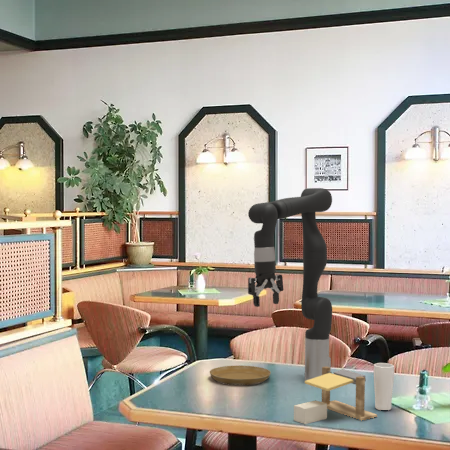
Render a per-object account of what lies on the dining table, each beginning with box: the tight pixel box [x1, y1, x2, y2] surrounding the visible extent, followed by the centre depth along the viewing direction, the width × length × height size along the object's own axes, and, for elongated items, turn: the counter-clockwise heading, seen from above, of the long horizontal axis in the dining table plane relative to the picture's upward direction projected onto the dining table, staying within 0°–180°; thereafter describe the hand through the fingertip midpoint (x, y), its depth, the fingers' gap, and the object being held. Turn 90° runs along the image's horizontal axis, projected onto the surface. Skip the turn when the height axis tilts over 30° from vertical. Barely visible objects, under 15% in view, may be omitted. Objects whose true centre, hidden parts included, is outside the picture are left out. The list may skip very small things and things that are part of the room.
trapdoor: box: [304, 368, 367, 392], centre depth 236 cm, size 17×11×2 cm
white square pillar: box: [293, 399, 328, 425], centre depth 231 cm, size 5×5×10 cm
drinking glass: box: [373, 362, 395, 411], centre depth 243 cm, size 7×7×15 cm
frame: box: [321, 366, 378, 422], centre depth 240 cm, size 7×20×14 cm, turn 34°
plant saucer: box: [209, 365, 272, 386], centre depth 282 cm, size 24×24×3 cm
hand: (266, 305), depth 256 cm, fingers open, 8 cm apart
